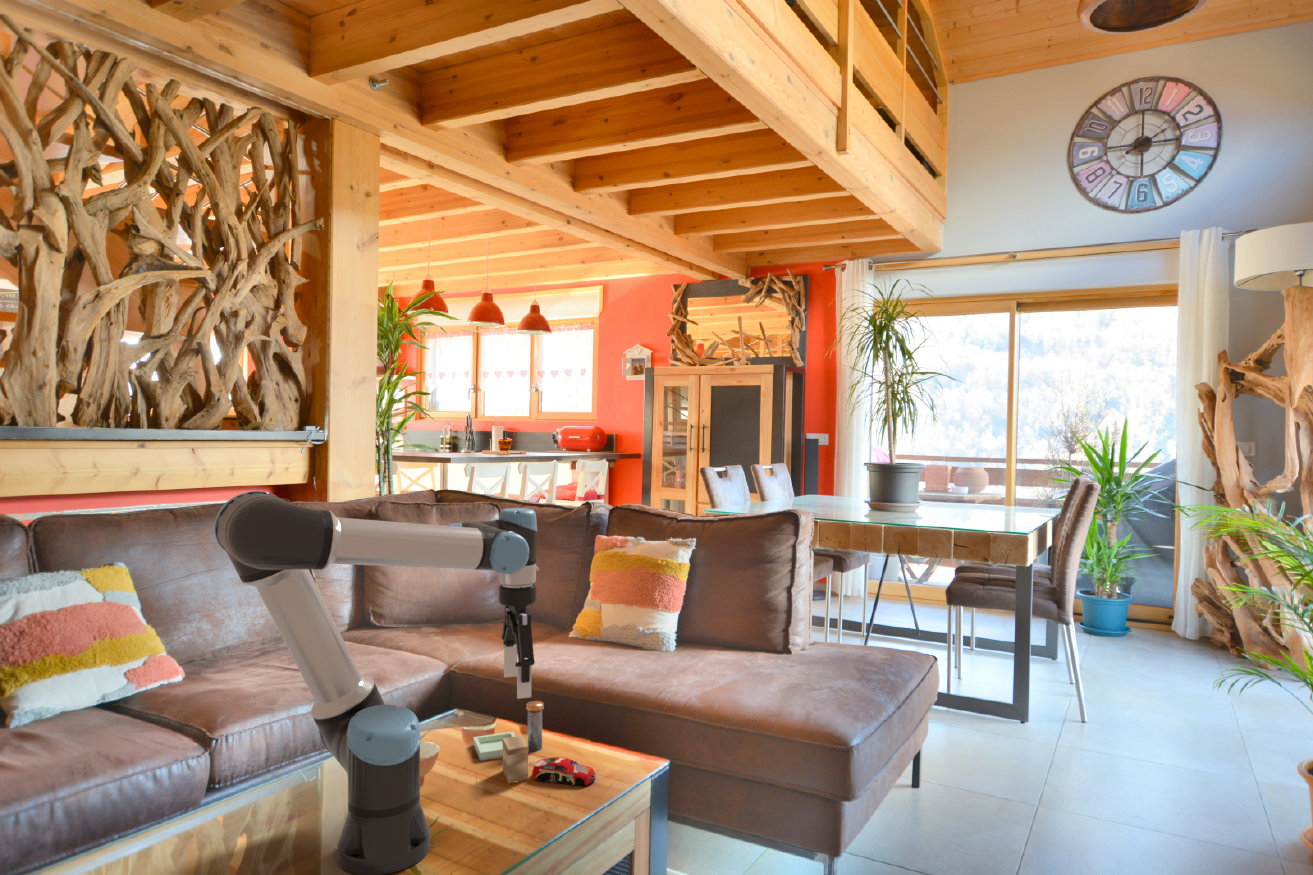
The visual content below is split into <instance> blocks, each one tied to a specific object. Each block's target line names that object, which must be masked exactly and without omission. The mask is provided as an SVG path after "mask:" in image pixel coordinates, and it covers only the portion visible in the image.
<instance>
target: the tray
mask: <svg viewBox="0 0 1313 875" xmlns="http://www.w3.org/2000/svg"><path fill="white" fill-rule="evenodd" d="M515 736H516V733H515V732H514V731H508V732H501V733H493V734H486V735H480V736H474V737H472V738H473V739H472V742H473V747H474V749H475V753H476V754H477V757H478V759H479V761H480V762H484V761H491V760H495V759H496V760H497V759H503V744H502V739H503V738H508V737H515Z"/></svg>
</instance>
